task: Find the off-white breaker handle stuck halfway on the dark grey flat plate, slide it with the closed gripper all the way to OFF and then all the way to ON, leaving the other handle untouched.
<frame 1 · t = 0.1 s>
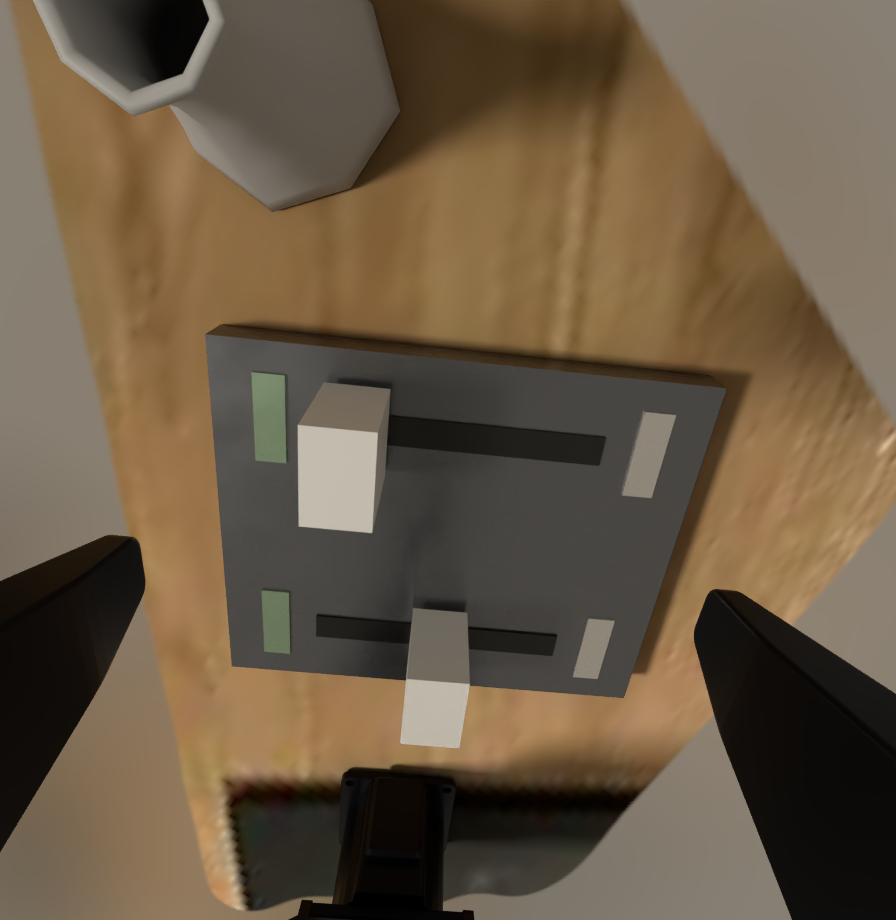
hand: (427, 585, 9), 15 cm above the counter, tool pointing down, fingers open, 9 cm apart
dark grey flat plate: (448, 525, 26), on the counter
flask: (284, 84, 19), on the counter
tripped breaker: (435, 675, 24), point 4 cm above the counter, slide at 4.0 cm
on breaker: (347, 454, 20), point 4 cm above the counter, slide at 8.0 cm
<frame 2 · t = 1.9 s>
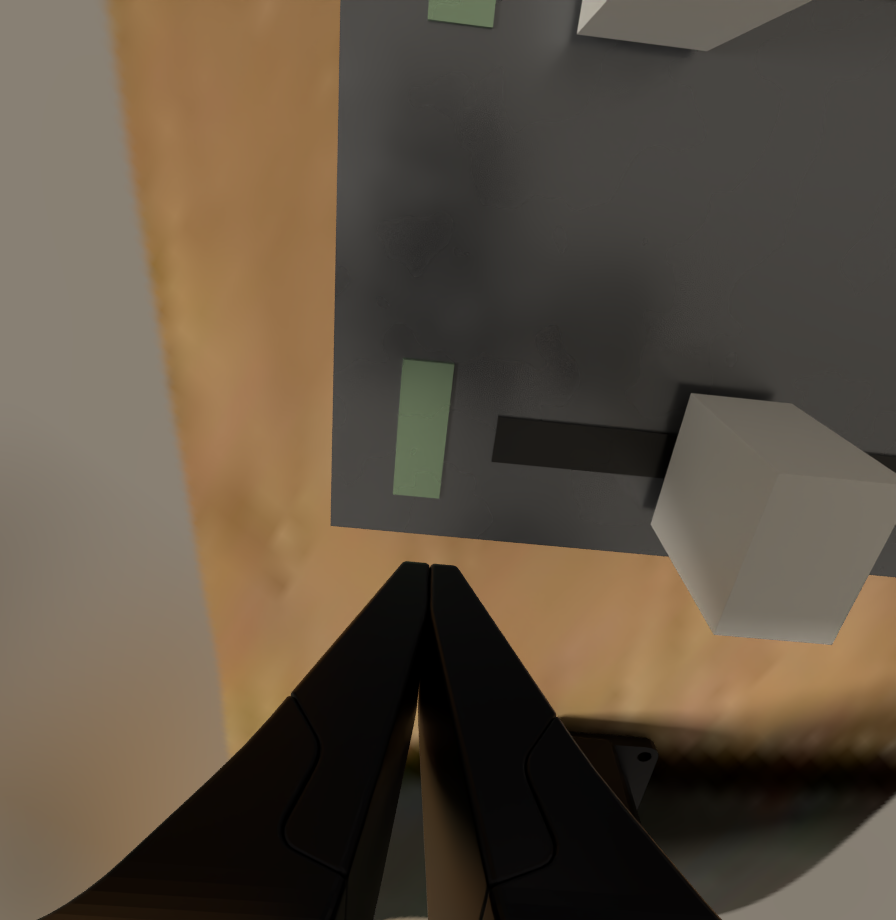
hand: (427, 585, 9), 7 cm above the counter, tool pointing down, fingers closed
dark grey flat plate: (749, 243, 14), on the counter
tripped breaker: (756, 509, 12), point 4 cm above the counter, slide at 4.0 cm
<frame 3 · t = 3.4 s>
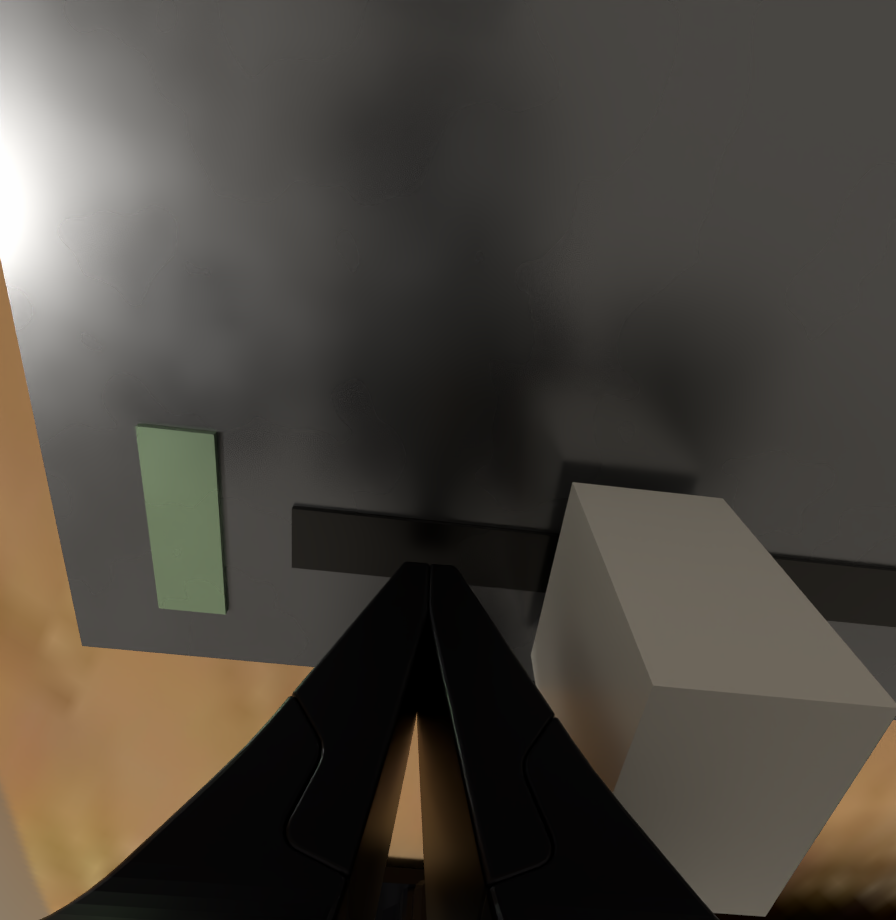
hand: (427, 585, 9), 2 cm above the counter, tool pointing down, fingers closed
dark grey flat plate: (658, 259, 9), on the counter
tripped breaker: (657, 673, 8), point 4 cm above the counter, slide at 3.9 cm, touching gripper
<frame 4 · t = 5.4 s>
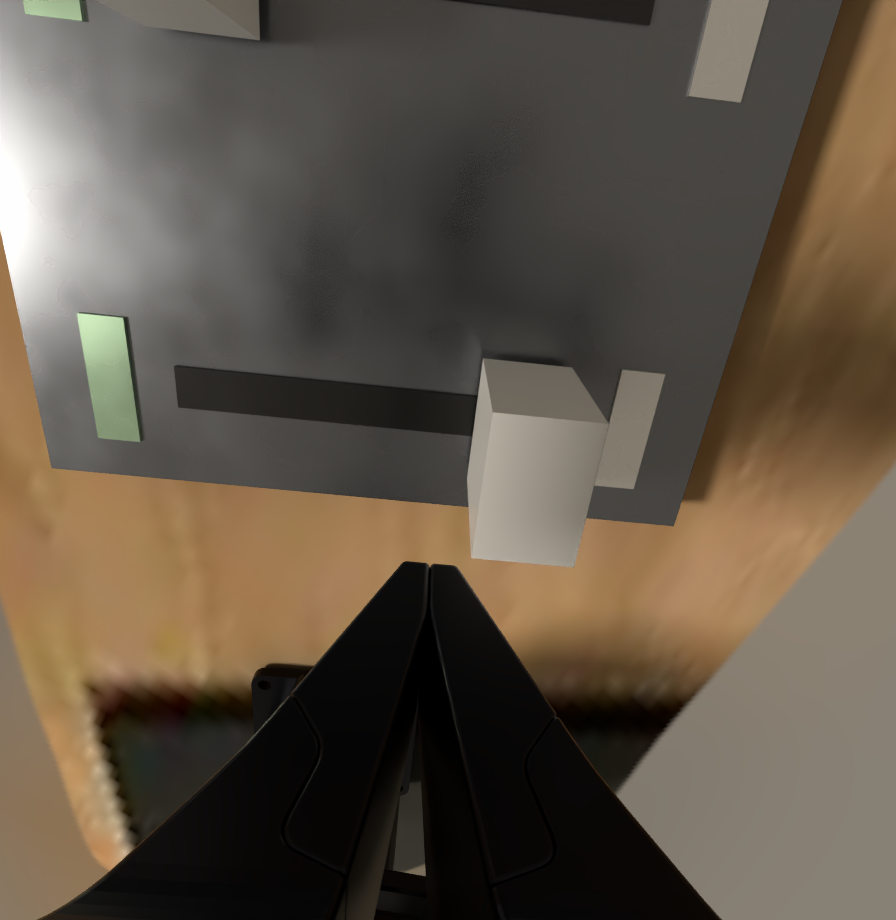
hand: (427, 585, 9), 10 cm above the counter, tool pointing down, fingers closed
dark grey flat plate: (389, 212, 16), on the counter
tripped breaker: (525, 455, 14), point 4 cm above the counter, slide at -0.1 cm
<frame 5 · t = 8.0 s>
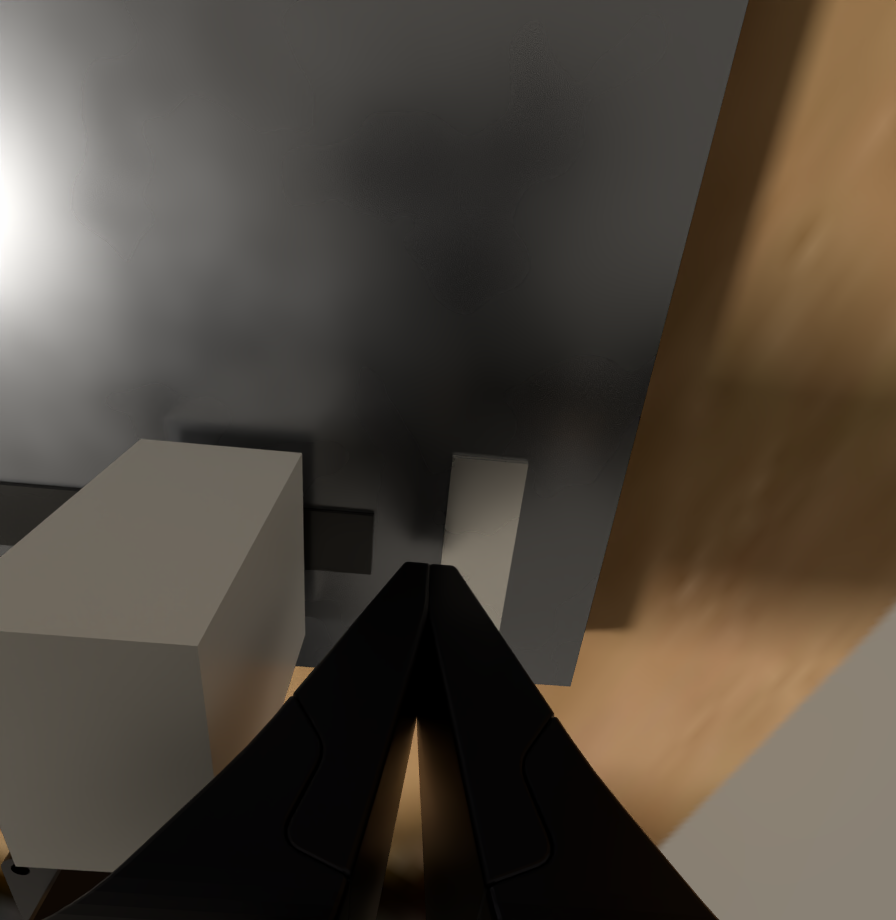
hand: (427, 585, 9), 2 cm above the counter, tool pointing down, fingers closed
dark grey flat plate: (38, 187, 9), on the counter
tripped breaker: (178, 631, 8), point 4 cm above the counter, slide at 0.8 cm, touching gripper
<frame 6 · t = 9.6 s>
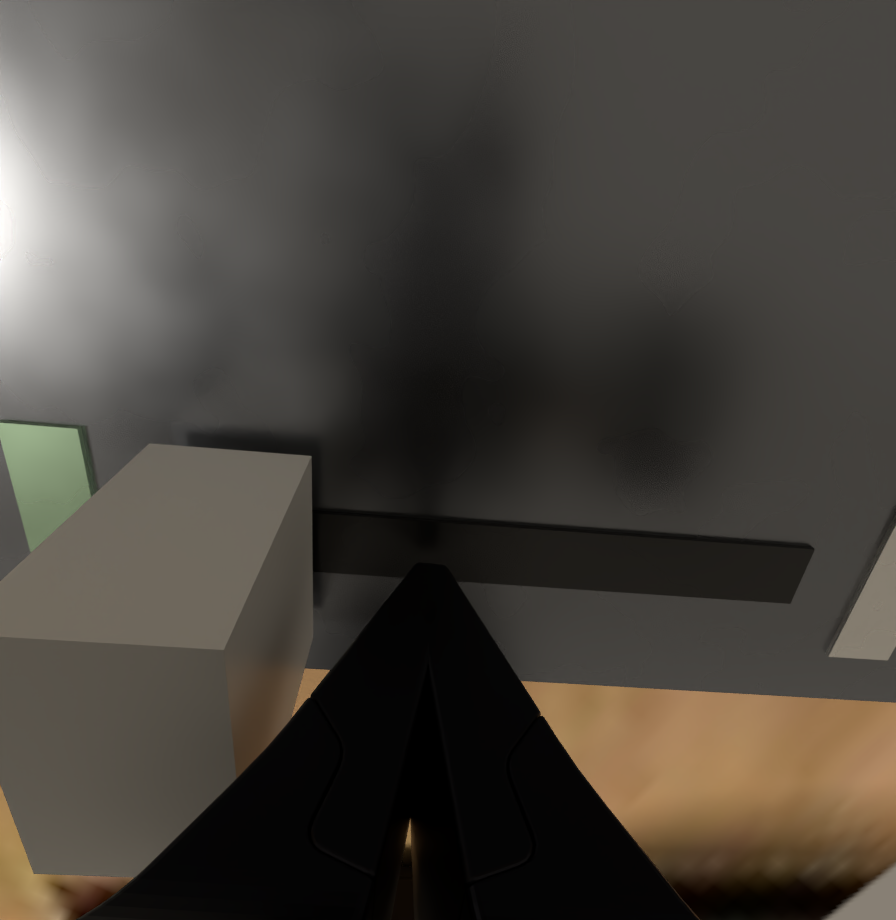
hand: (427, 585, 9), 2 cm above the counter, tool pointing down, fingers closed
dark grey flat plate: (528, 239, 9), on the counter
tripped breaker: (192, 635, 8), point 4 cm above the counter, slide at 8.3 cm, touching gripper
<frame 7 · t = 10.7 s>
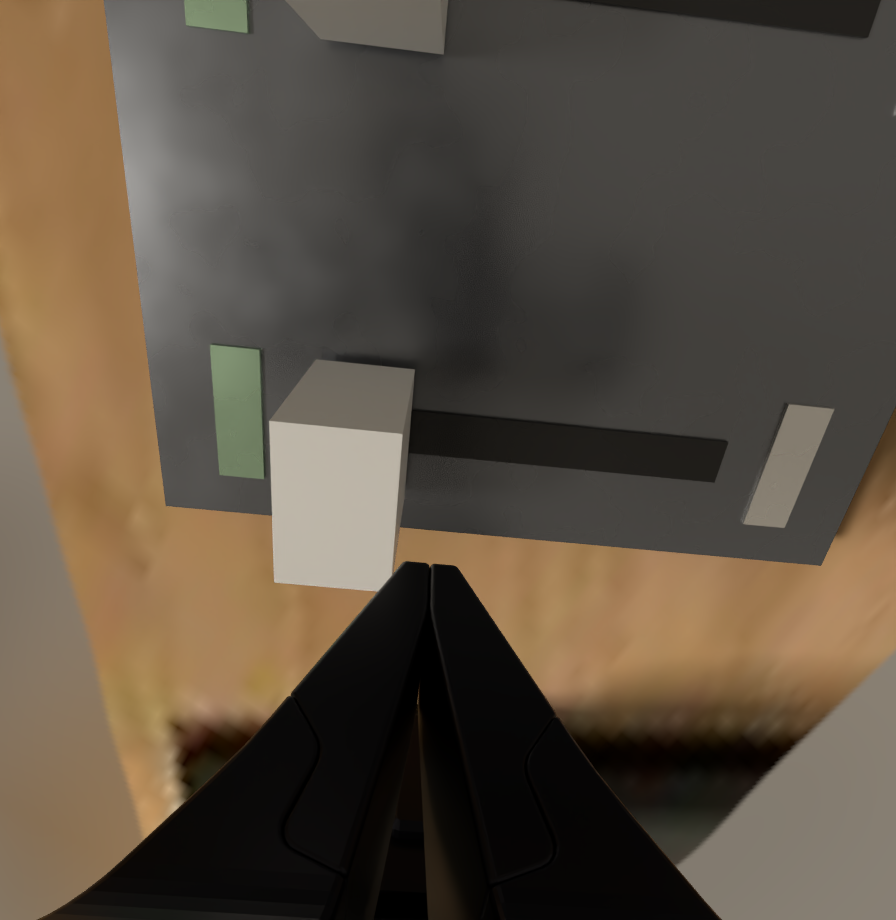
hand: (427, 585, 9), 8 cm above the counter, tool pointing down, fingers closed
dark grey flat plate: (542, 236, 15), on the counter
tripped breaker: (350, 467, 13), point 4 cm above the counter, slide at 8.1 cm
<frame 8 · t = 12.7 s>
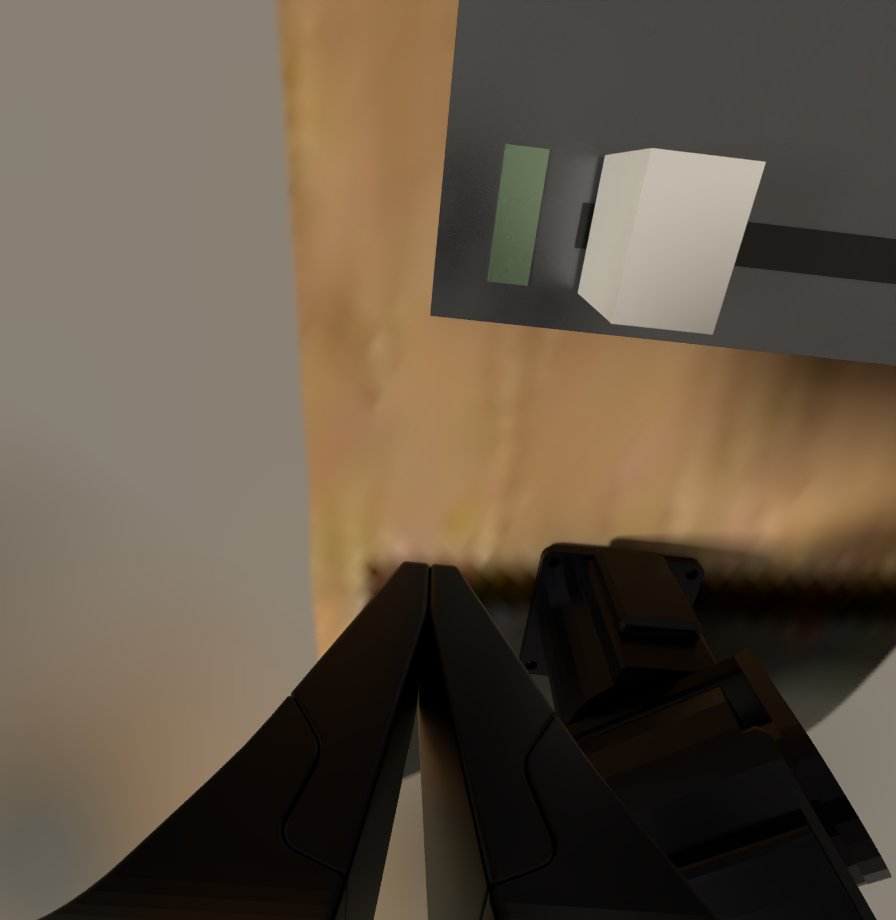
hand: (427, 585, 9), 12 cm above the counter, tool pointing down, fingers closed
dark grey flat plate: (801, 49, 16), on the counter
tripped breaker: (655, 238, 14), point 4 cm above the counter, slide at 8.1 cm
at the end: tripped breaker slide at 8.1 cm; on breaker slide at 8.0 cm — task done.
